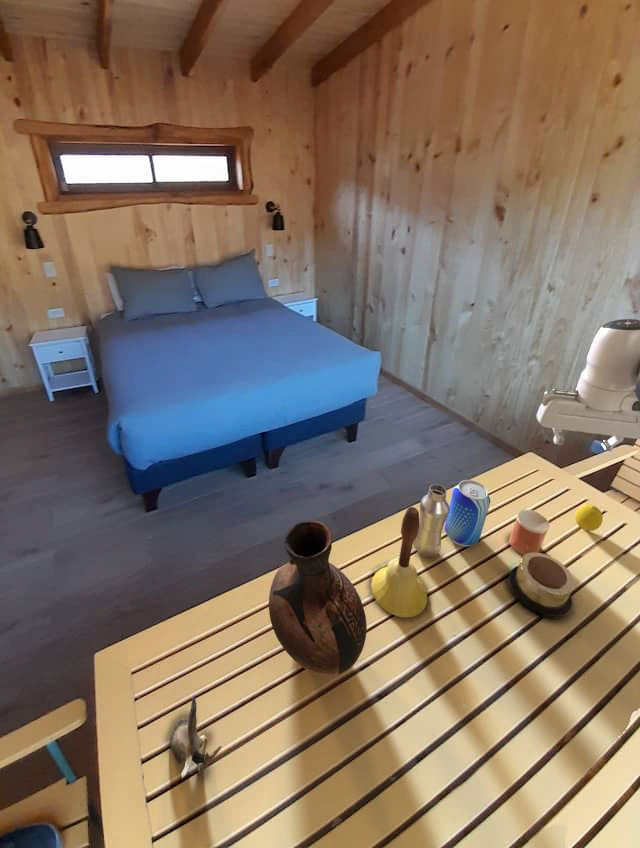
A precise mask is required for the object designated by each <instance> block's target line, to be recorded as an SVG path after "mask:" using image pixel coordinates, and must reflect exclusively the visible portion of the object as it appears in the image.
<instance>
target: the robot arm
mask: <svg viewBox="0 0 640 848" xmlns="http://www.w3.org/2000/svg"><path fill="white" fill-rule="evenodd" d="M535 415H536V416H535V417H536V420H537V422H538V424H539V425H540V426H541V427H543V428H549V429H552V431H553V434H554V436H553V438H552V440H553V443H554V445H559V446H563V445H564V442H565V437H564V435H563V434H560V433H562V431H564V430H565V431H572V432H580V433H586V434H595V435H602V436H609V437H610V438H609V439H607V440H605V439H603V440H602V441H601V445H600V448H601V449H602V451H605V452H612V451H613V450H614V447H616V446H617V445H619V444H621V443H622V442H623V441H624V439H625V438H627V439H634V440H640V319H635V318H623V319H615V320H612V321H608V322H606V323H604V324H603V325H602V326H601V327H600V328H599V330H598V331H597V333H596V334H595V336H594V338H593V340H592V342H591V344H590V347H589V350H588V352H587V356H586V365H585V368H584V369H583V370H582V372H581V374H580V376H579V379H578V380H577V385H576V387H575V390H574V389H560V388H552V389H550V390H546V391H545V392H544V393H543V395H542V398H541V403H540V405H539V407H538V410H537V412H536V414H535Z"/></svg>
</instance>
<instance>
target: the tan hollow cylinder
mask: <svg viewBox="0 0 640 848" xmlns="http://www.w3.org/2000/svg"><path fill="white" fill-rule="evenodd" d="M507 584H508V589H509V591H510V593H511V595H512V596H513V598H514V599H515V600H516V601H517V603H518V604H519V605H520V606H521V607H522V608H524V609H525V610H527V611H528V612H530V613H531V614H533V615H535V616H537V617H540V618H543V619H547V620H561V619H563V618H565V617H566V616H567V615H568V614H569V612H570V610H571V608H572V605H573V599H572V595H571V594H572V592H573V590H574V588H575V580H574V577H573V575H572V573H571V571H570V570H569V569H568V568H567V567H566V566H565V565H564V564H563V563H562V562H560V561H559V560H558V559H556V558H554V557H552V556H550V555H548V554H545V553H541V552H539V553H535V552H534V553H528V554H526V555H522V557H521V559H520V561H519V563H518V565H516V566H515V567H513V568H512V569H511V570H510V572H509V576H508V579H507Z"/></svg>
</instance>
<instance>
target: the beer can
mask: <svg viewBox="0 0 640 848" xmlns="http://www.w3.org/2000/svg"><path fill="white" fill-rule="evenodd" d="M490 505H491V498H490V495H489V491H488V489H487V487H485V485H483V484H482V483H480V482H478V481H477V480H472V479H464V480H462V481H460V482H459V483H458V484H457V485H456V486H455V487H454V488H453V489H452V493H451V498H450V502H449V510H450V512H449V515H448V517H447V519H446V521H445V523H444V531H445V534H446V535H447V537H448V538H449V540H450V541H452V542H453V543H454V544H456V545H458V546H461V547H472V546H475V545H476V544H478V543H479V541H480V539H481V535H482V532H483V529H484V526H485V522H486V518H487V516H488V512H489V508H490Z"/></svg>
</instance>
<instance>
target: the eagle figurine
mask: <svg viewBox="0 0 640 848" xmlns="http://www.w3.org/2000/svg"><path fill="white" fill-rule="evenodd" d="M196 700H197V699H196V695H193V696H192V699H191V705H190V709H189V712H188V713H189V714H188V718H186V717H185V718H180V720H178V721H177V723H176V725H174V726H173V727H174V728H173V730H172V731H171V735H170V738H169V747H170V749H171V751H172V755H173V758H174V760H175V761H176V762H177V763H178V764H182V763H183V762H185V764H184V767H183V770H182V772H181V775H180V776H181V779H184V777H186V776H187V774H188V773H189V770H190V768H191V766H192V762H193V763H194V764H195V765H196V766H197V773H196V776H197V777H200V774H201V775H205V770H206V768H207V767H208V766H209V764H210V763H211V762H212V760H213V759H214V758H215V757H216V756H217V755H218V753H219V752H220V751H221V749H222V745H219V746H218V747H217V748H215V749H214V750H213V752H212V753H209V752H206V753H205V752H203V751H202V747H204V746H203V745H204V743H205V741H206V740H208V737H207V736H205V734H203V735H201V736H199V732H198V729H197V725H198V724H197V723H198V721H197V706H198V705H197V702H196Z"/></svg>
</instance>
